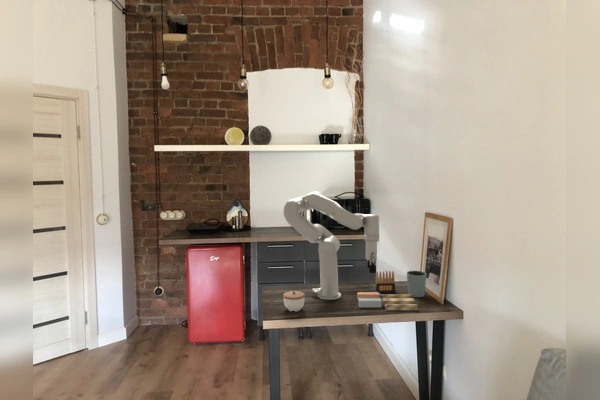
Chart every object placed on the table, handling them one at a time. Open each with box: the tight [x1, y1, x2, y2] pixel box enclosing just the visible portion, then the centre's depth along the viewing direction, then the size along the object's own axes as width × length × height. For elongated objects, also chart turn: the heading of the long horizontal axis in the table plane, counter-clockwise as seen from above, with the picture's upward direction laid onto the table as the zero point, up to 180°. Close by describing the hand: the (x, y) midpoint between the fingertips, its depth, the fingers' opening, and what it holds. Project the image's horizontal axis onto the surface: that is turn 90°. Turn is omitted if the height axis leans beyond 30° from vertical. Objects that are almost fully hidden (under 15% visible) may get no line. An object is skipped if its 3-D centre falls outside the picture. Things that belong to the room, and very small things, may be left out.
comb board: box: [381, 293, 419, 311], centre depth 189 cm, size 15×16×2 cm
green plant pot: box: [406, 270, 427, 298], centre depth 203 cm, size 10×10×12 cm
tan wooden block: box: [356, 291, 382, 300], centre depth 198 cm, size 12×4×4 cm, turn 86°
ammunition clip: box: [375, 270, 396, 294], centre depth 209 cm, size 11×2×12 cm, turn 90°
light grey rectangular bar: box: [357, 297, 384, 308], centre depth 188 cm, size 12×4×4 cm, turn 85°
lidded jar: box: [282, 290, 306, 312], centre depth 186 cm, size 11×11×9 cm
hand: (371, 270), depth 197 cm, fingers open, 9 cm apart
